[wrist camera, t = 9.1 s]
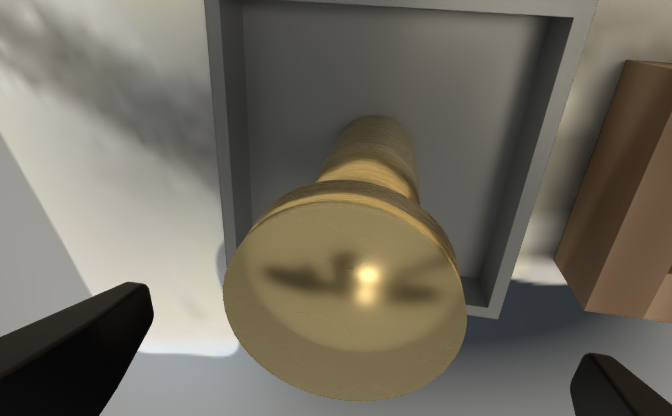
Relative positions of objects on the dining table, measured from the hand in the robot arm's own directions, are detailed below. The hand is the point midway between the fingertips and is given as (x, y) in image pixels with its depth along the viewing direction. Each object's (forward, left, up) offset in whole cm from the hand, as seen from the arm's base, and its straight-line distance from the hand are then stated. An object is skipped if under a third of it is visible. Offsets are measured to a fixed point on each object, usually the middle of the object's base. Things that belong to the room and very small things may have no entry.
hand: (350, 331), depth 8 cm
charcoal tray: (0, 0, -13) cm, 13 cm away
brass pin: (0, 0, -12) cm, 12 cm away
